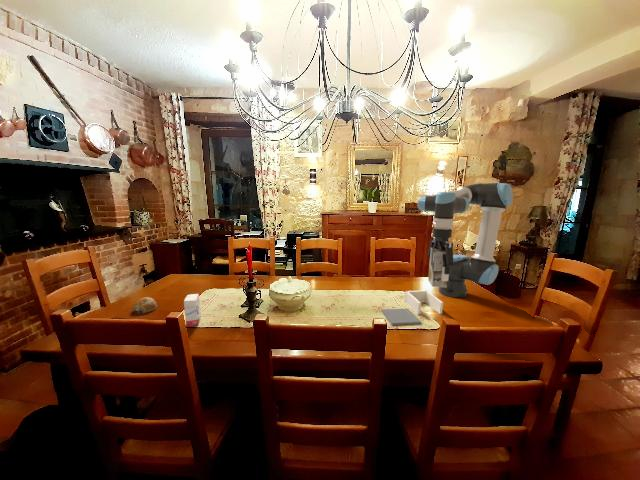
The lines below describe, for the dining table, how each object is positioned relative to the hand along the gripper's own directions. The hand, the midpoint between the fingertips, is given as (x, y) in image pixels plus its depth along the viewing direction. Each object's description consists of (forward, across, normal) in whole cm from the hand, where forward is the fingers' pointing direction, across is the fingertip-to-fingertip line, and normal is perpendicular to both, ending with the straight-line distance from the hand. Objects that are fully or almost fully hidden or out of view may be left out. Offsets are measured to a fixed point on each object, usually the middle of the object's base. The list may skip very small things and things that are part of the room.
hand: (437, 276), depth 119 cm
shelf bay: (+22, -15, +2) cm, 26 cm away
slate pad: (+22, -5, -14) cm, 26 cm away
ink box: (+22, -7, -110) cm, 112 cm away
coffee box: (+4, 0, 0) cm, 4 cm away
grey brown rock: (+22, -22, -138) cm, 142 cm away
